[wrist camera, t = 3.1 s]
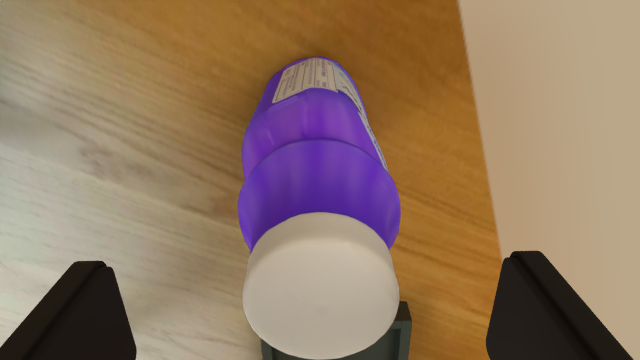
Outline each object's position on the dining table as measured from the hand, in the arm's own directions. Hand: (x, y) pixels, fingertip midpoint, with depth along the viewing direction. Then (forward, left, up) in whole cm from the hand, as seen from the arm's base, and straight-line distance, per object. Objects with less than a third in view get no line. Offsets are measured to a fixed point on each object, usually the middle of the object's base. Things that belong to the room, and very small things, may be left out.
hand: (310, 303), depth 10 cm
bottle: (0, 0, -18) cm, 18 cm away
